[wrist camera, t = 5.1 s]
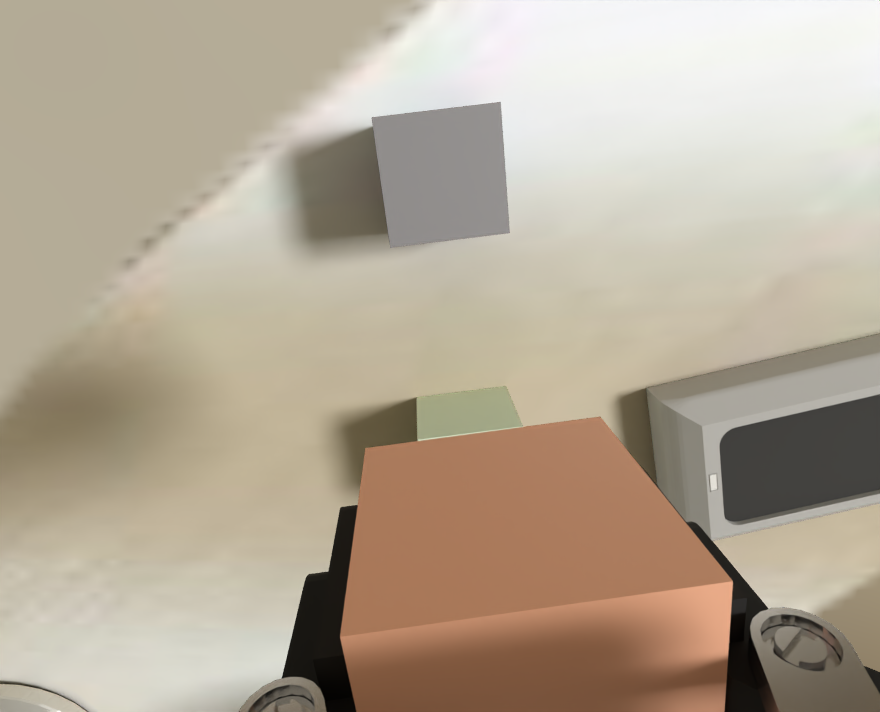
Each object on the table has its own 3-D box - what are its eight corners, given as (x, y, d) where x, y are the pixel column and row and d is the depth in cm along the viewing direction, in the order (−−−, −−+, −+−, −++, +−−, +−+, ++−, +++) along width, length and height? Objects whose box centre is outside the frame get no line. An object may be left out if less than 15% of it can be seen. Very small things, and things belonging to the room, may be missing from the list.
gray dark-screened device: (953, 502, 31) (686, 562, 31) (898, 468, 34) (659, 522, 35) (968, 344, 28) (672, 413, 28) (906, 323, 31) (643, 385, 32)
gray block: (492, 220, 28) (509, 233, 23) (393, 232, 28) (390, 247, 23) (484, 112, 26) (500, 102, 21) (378, 125, 26) (371, 117, 21)
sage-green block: (512, 463, 33) (529, 515, 28) (427, 474, 32) (430, 528, 28) (505, 385, 31) (523, 426, 26) (416, 396, 31) (417, 439, 26)
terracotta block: (605, 605, 13) (716, 842, 9) (398, 633, 13) (396, 890, 9) (600, 416, 12) (733, 581, 7) (365, 448, 12) (339, 636, 7)
